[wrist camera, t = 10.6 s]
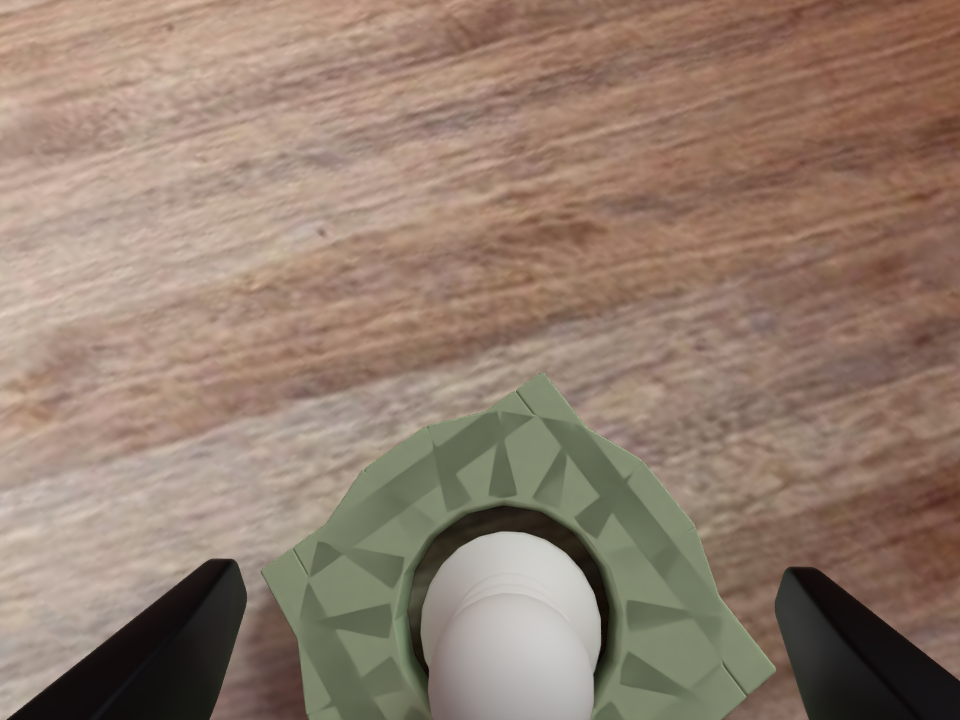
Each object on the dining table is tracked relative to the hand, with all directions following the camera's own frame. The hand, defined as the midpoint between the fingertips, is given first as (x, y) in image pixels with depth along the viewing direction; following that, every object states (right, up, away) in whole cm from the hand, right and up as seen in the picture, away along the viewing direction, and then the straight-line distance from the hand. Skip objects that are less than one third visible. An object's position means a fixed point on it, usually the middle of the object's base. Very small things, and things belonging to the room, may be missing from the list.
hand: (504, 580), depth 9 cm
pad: (0, -4, +8) cm, 9 cm away
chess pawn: (+1, -4, +8) cm, 9 cm away
